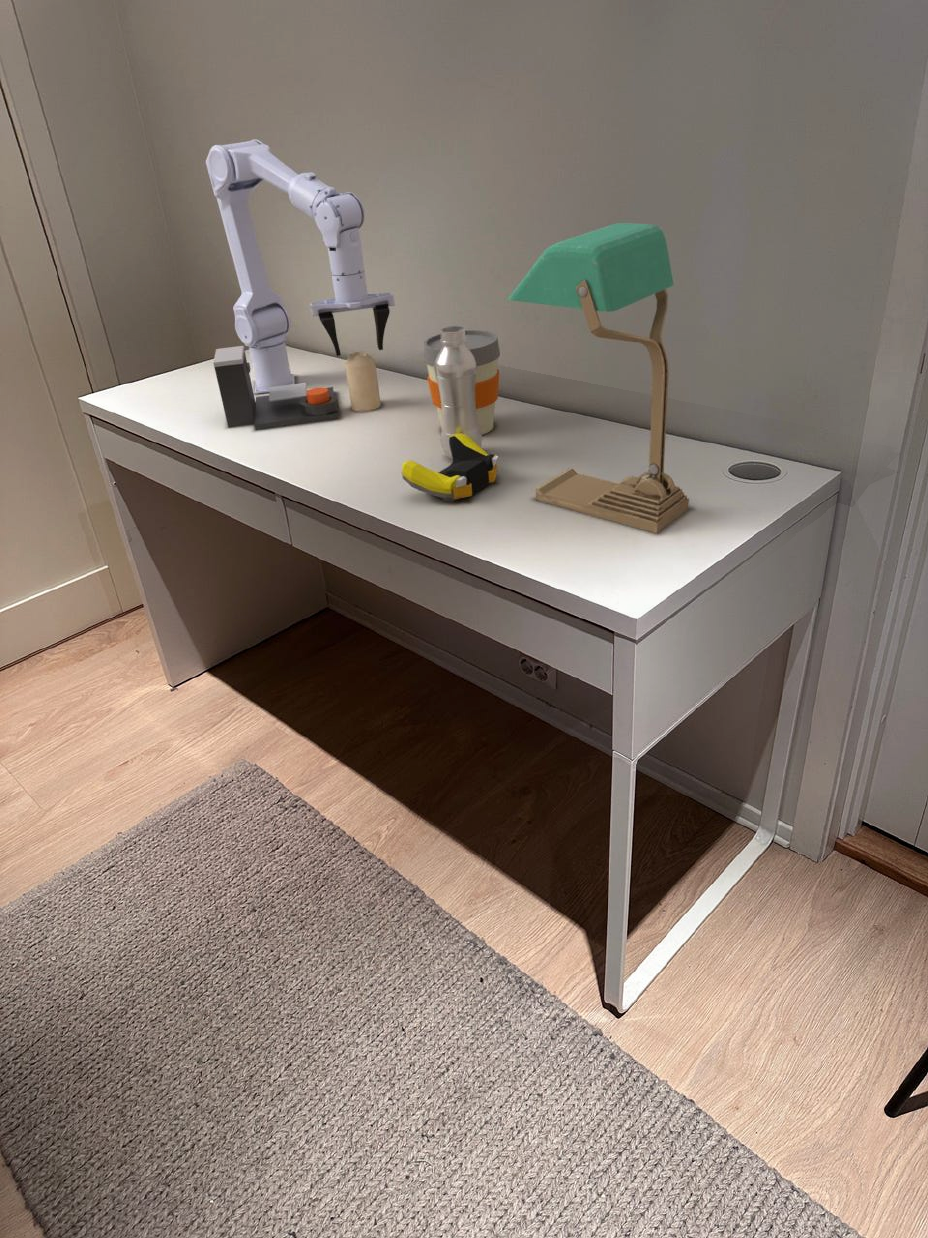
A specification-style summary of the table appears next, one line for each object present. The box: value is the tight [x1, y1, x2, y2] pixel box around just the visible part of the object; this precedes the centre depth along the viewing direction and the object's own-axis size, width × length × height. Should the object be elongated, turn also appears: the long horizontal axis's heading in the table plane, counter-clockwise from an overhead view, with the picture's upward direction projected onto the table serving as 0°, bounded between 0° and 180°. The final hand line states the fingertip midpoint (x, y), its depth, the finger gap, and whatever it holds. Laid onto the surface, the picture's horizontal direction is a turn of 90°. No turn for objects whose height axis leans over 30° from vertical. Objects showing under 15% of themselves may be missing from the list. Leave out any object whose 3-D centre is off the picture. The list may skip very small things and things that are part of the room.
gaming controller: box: [401, 433, 499, 502], centre depth 129 cm, size 15×6×10 cm
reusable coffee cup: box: [423, 329, 501, 436], centre depth 146 cm, size 13×13×15 cm
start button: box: [306, 386, 330, 404], centre depth 159 cm, size 4×4×2 cm
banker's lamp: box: [507, 222, 690, 534], centre depth 112 cm, size 16×21×35 cm
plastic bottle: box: [434, 325, 483, 459], centre depth 135 cm, size 6×7×20 cm
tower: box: [212, 345, 308, 428], centre depth 162 cm, size 10×15×12 cm
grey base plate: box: [253, 386, 340, 431], centre depth 164 cm, size 16×15×3 cm
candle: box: [344, 350, 381, 412], centre depth 161 cm, size 6×6×10 cm
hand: (359, 351), depth 158 cm, fingers open, 7 cm apart
